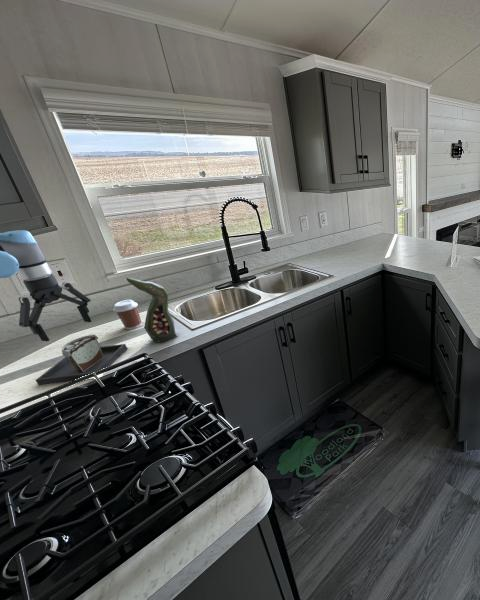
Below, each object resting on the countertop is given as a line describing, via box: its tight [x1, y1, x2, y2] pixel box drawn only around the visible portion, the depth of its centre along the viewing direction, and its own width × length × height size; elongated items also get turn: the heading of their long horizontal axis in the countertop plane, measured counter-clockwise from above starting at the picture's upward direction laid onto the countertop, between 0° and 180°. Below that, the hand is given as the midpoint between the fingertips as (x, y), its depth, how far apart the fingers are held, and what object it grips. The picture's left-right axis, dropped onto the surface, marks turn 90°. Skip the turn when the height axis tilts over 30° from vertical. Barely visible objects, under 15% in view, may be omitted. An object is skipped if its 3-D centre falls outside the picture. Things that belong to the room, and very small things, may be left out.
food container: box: [61, 334, 104, 372], centre depth 124 cm, size 12×6×10 cm, turn 0°
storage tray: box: [35, 343, 128, 386], centre depth 126 cm, size 20×19×2 cm
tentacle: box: [125, 277, 177, 343], centre depth 138 cm, size 9×12×30 cm
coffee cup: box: [112, 299, 143, 330], centre depth 152 cm, size 9×9×12 cm
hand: (68, 330), depth 120 cm, fingers open, 13 cm apart
